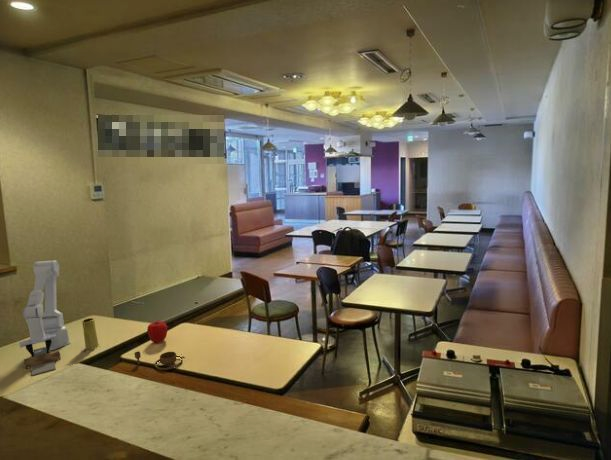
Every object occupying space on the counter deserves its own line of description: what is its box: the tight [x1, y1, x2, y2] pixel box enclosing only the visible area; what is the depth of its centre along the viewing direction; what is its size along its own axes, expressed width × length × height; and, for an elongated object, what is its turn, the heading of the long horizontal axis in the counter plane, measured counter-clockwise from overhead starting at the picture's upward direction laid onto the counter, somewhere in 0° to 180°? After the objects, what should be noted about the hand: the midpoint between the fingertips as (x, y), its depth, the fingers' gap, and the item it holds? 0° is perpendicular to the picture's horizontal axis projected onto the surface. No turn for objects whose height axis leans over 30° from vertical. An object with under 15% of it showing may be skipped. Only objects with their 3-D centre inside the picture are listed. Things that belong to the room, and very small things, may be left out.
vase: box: [81, 317, 100, 350], centre depth 209 cm, size 6×6×14 cm
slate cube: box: [33, 346, 47, 357], centre depth 198 cm, size 5×5×5 cm
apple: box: [147, 320, 168, 344], centre depth 211 cm, size 10×10×11 cm
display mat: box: [31, 361, 57, 377], centre depth 190 cm, size 9×9×1 cm
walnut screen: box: [23, 350, 61, 369], centre depth 195 cm, size 14×2×4 cm, turn 123°
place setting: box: [134, 350, 183, 371], centre depth 190 cm, size 18×20×6 cm
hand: (41, 357), depth 198 cm, fingers closed on slate cube, 5 cm apart
